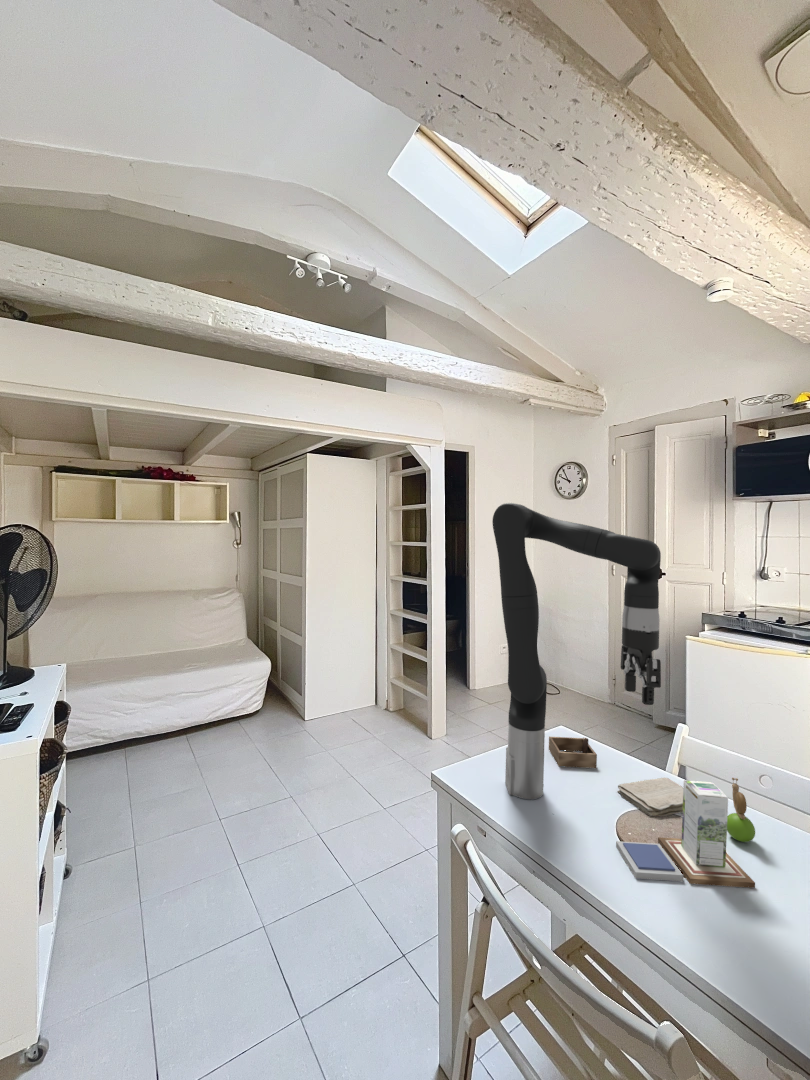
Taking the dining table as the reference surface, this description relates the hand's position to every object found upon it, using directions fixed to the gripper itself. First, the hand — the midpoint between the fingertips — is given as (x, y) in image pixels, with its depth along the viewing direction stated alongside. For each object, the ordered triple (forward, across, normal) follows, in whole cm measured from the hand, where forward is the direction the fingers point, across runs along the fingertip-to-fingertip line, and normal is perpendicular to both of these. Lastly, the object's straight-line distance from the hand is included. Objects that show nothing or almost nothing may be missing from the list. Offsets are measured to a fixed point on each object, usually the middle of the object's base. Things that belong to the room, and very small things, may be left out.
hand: (638, 697), depth 102 cm
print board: (+30, +10, +9) cm, 33 cm away
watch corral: (+30, -33, -4) cm, 45 cm away
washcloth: (+31, -13, +12) cm, 36 cm away
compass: (+30, -32, -4) cm, 44 cm away
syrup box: (+29, +10, +9) cm, 32 cm away
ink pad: (+30, +11, -2) cm, 32 cm away
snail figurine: (+30, +1, +22) cm, 37 cm away
